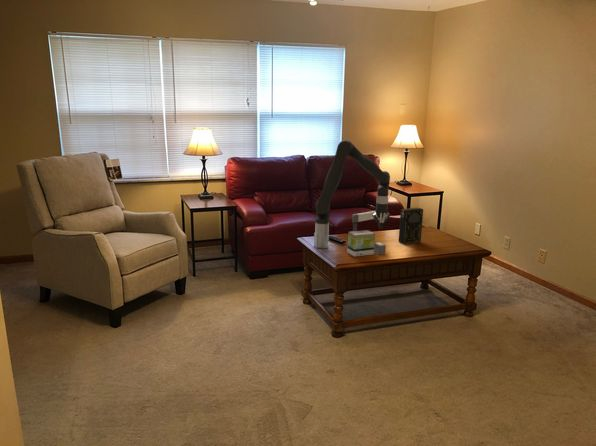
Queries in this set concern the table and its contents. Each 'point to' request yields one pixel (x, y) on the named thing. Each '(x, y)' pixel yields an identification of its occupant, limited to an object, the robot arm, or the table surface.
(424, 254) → the table surface
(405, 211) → the dark grey tall block
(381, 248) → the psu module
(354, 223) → the arm post
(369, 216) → the bar
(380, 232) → the table surface
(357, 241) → the tea box
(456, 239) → the table surface
